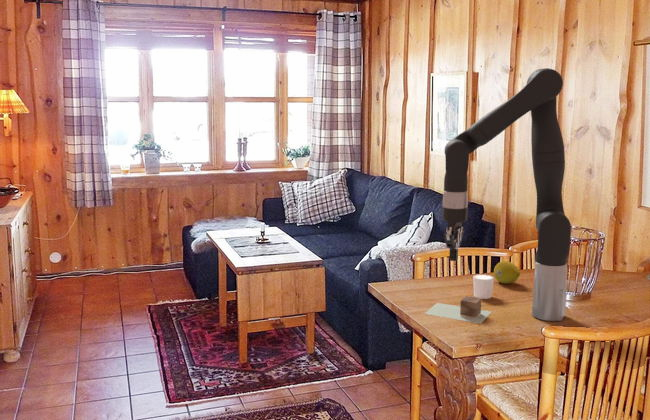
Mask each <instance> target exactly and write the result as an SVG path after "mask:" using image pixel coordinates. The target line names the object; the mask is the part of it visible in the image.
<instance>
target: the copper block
mask: <svg viewBox="0 0 650 420" xmlns="http://www.w3.org/2000/svg"><path fill="white" fill-rule="evenodd" d="M481 310H482V299H481V298H476V297H475V296H468V295H465V296H463V298H462V299H461V300H460V316H463V317H469V318H475V319H476V318H477V317H478V316H479V315H480V314H481Z"/></svg>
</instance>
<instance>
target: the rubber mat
mask: <svg viewBox="0 0 650 420" xmlns="http://www.w3.org/2000/svg"><path fill="white" fill-rule="evenodd" d="M460 306H461V305H460ZM460 306H458V305H454V304H447V303H441V302H436V303H435V304H434V305H433V306H431V307H430V308H429V309H428V310H427V311H426V312H424V313H423V314H424V315H428V316H434V317H439V318H440V317H441V318H446V319H450V320H457V321H463V322H469V323H473V324H482V323H483V322H484V321H485V320H486V319H487V318H488V317H489V315H491V313H492V311H490V310H485V309H484V310H483V309H481V314H480V315H479V316H478V317H477V318H476V319H475V318H469V317H463V316H460Z"/></svg>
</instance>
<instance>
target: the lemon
mask: <svg viewBox="0 0 650 420" xmlns="http://www.w3.org/2000/svg"><path fill="white" fill-rule="evenodd" d="M493 275H494V279H496V281H498V283H501V284H505V285H508V284H513V283H515V282H516V281H517V280H518V279H519V278H520V276H521V272H520V270H519V267H518V266H517V265H516V264H514V263H512V262H510V261H507V260H503V261H500V262H498V263H497V264H496V265H495V266H494V269H493Z"/></svg>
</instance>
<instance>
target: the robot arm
mask: <svg viewBox="0 0 650 420" xmlns="http://www.w3.org/2000/svg"><path fill="white" fill-rule="evenodd" d="M563 85H564V79H563V77H562V75H561V74H560V73H559V71H557V70H555V69H552V68H540V69H539V68H538V69H536V70H534V71H532V72H531V74H530V75H529V76H528V78H527V81H526V84H525V85H524V87H522V88H521V89H520V91H518V92H517V93H516V94H514V95H513V96H512V97H510V98H509V99H508V100H506V101H505V102H503V103H502V104H500V105H499V106H497V107H495V108H494V109H492V110H491V111H489V112H487V113H486V114H484V115H483V116H482V117H481V118H479V119H478V120H477V121H475V122H474V123H473V124H472V125H471V126H470V127H469V128H467V129H465V130H464V131H462V132H461V133H460V134H457V135H456V136H455V137H453V138H452V139H450V141H448V142H447V143H446V145H445V146H444V155H445V157H444V158H445V173H444V179H443V195H442V212H441V213H442V216H441V218H442V221H444V222H446V223H447V226H446V231H445V232H446V233H444V234H443V239H444V241H445V242H444V243H445V246H446V249H449V258H448V259H449V261H452V262H456V261H458V257H459V256H458V255H459V249H460V246H461V245H462V241H463V237H464V233H465V227H463V226H462V225H463V223H466V222H467V221H468V211H469V210H468V206H469V205H468V204H469V203H468V202H469V201H468V200H469V196H468V184H469V183H468V170H469V162H470V155H471V154H472V153H474V151H476V150H477V149H479V147H482V146H485V145H487V144H488V143H489V142H490V141H492V140H493V139H495V138H496V137H497V136H498V135H500V134H502V132H504V131H505V130H506V129H507V128H509V127H510V126H512V124H514V123H515V122H516V121H517V120H520V118H522V117H523V116H524V115H526V114H528V113H529V112H530V115H531V117H530V119H531V132H530V133H531V134H530V135H531V138H530V139H531V160H532V169H533V170H532V171H533V179H534V186H535V191H536V213H535V214H536V215H535V227H536V230H537V232H538V237H537V238H538V239H537V249H536V252H535V255H534V257H535V258H534V276H533V290H532V291H533V292H532V307H531V316H533V317H534V318H536V319H538V320H541V321H546V322H547V321H549V322H550V321H551V322H554V321H555V322H557V321H558V322H562V321H563V319H564V317H565V316H566V300H567V288H568V287H567V285H566V284H567V283H566V280H567V266H568V264H567V263H568V258H569V255H570V250H571V249H570V248H571V236H572V223H571V221H570V219H569V217H568V216H566V215H565V208H564V203H563V193H562V192H563V190H562V189H563V183H564V177H565V169H566V160H565V159H566V158H565V144H564V139H563V133H562V131H561V126H560V123H559V119H558V113H557V111H558V110H557V98H558V97H557V96H559V94H560V93H561V91H562V90H563V87H564V86H563Z"/></svg>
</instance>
